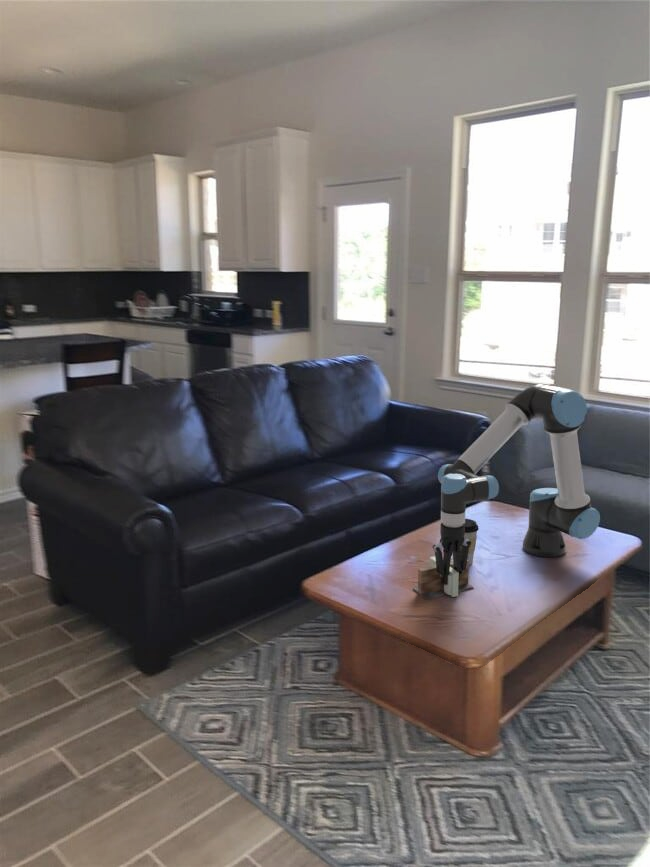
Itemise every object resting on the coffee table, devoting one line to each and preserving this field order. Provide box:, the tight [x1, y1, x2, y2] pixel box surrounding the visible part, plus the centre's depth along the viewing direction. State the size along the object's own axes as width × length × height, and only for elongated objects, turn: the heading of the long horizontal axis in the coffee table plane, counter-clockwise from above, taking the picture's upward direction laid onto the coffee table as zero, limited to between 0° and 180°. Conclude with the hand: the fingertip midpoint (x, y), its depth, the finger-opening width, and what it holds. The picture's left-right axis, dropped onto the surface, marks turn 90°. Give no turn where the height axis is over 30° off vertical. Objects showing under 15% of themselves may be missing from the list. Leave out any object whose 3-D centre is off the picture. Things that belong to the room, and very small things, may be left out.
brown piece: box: [412, 560, 474, 601], centre depth 226 cm, size 18×8×9 cm, turn 113°
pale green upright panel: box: [428, 555, 459, 598], centre depth 226 cm, size 14×2×8 cm, turn 23°
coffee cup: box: [464, 518, 479, 566], centre depth 245 cm, size 9×9×15 cm
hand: (450, 592), depth 222 cm, fingers closed on pale green upright panel, 2 cm apart
